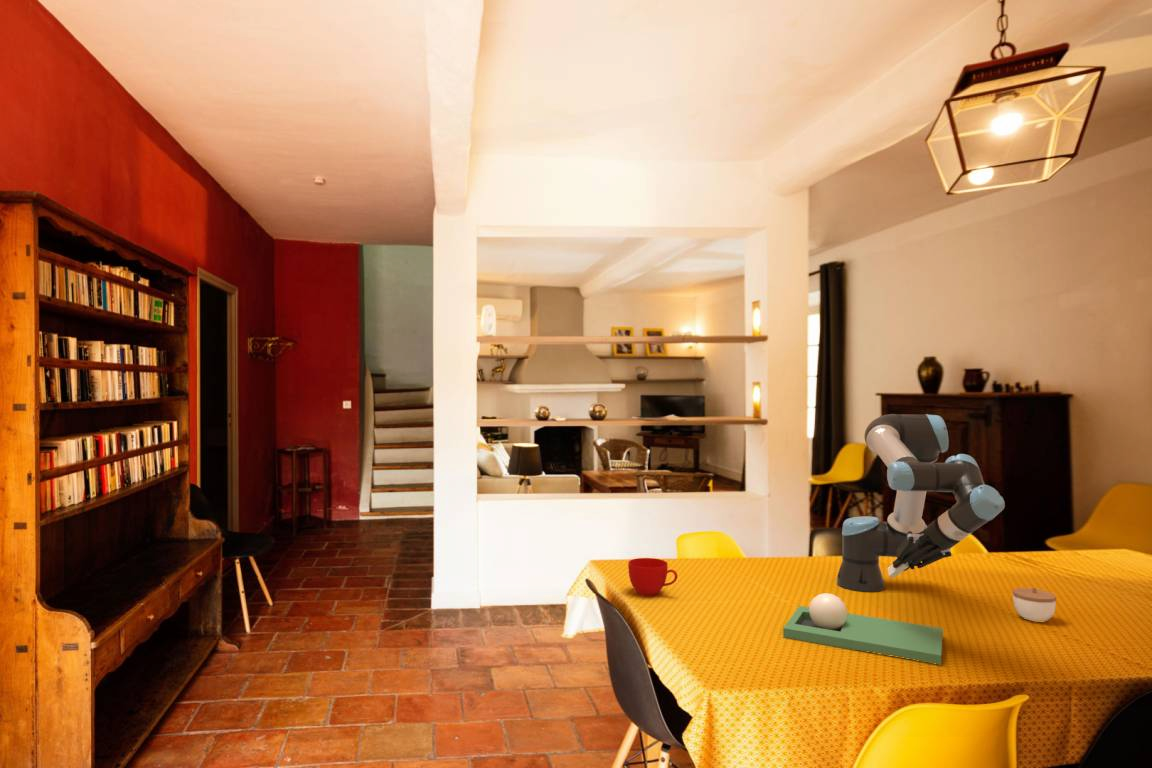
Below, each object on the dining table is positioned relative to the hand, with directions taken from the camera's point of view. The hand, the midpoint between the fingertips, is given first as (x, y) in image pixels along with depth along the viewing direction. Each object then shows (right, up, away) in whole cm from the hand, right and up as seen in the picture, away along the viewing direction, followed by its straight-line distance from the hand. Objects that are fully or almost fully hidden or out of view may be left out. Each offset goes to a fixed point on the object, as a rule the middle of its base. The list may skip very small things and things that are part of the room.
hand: (890, 572), depth 192 cm
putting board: (-10, -16, -5) cm, 20 cm away
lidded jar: (+47, -17, +10) cm, 51 cm away
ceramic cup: (-63, -16, +33) cm, 73 cm away
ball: (-18, -11, 0) cm, 21 cm away
